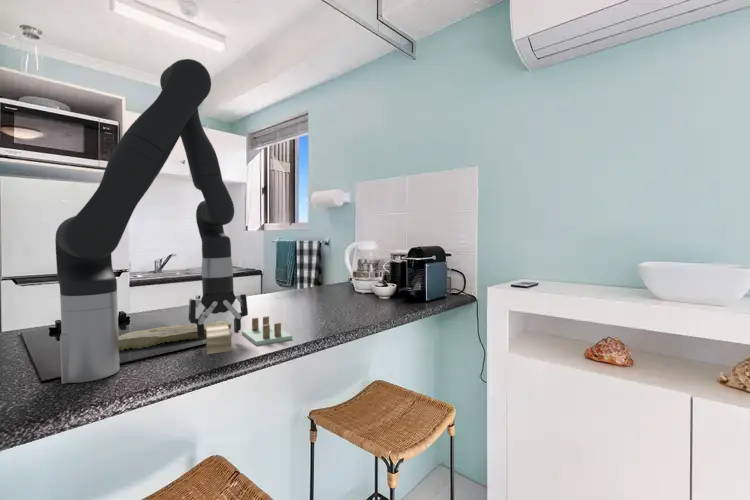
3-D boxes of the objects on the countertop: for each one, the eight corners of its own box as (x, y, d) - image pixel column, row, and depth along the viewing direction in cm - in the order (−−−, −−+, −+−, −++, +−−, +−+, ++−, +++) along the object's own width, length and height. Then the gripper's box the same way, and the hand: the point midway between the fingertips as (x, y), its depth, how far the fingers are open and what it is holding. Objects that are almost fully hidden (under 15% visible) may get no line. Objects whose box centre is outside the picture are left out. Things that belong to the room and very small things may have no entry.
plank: (231, 352, 91) (231, 336, 91) (207, 355, 88) (207, 339, 88) (227, 338, 103) (227, 324, 103) (206, 340, 101) (206, 326, 101)
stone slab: (107, 332, 98) (222, 313, 117) (108, 347, 98) (223, 326, 117) (108, 342, 88) (234, 320, 107) (109, 359, 89) (235, 334, 107)
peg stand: (292, 339, 101) (292, 323, 101) (256, 345, 95) (255, 328, 95) (274, 328, 112) (274, 314, 112) (241, 333, 107) (241, 318, 106)
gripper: (189, 278, 88) (192, 343, 89) (249, 273, 96) (251, 333, 97) (185, 275, 94) (188, 336, 95) (241, 271, 102) (243, 327, 103)
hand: (219, 335), depth 96 cm, fingers open, 8 cm apart
